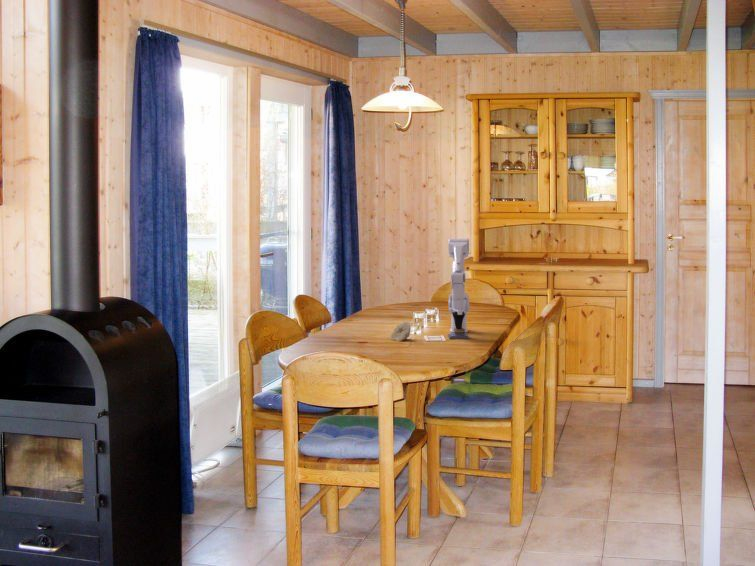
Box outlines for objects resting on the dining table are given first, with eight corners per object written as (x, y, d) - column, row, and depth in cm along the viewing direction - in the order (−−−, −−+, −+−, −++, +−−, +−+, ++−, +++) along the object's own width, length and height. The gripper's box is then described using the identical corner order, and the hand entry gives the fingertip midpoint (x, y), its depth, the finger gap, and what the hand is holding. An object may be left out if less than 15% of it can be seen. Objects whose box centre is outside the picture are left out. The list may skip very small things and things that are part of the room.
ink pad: (447, 335, 432) (447, 333, 432) (467, 335, 433) (467, 332, 432) (449, 339, 423) (449, 336, 423) (469, 338, 424) (469, 336, 423)
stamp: (453, 332, 430) (453, 320, 429) (463, 332, 430) (463, 320, 430) (455, 334, 426) (455, 321, 425) (464, 333, 426) (464, 321, 425)
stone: (389, 343, 420) (386, 324, 425) (395, 348, 426) (391, 329, 431) (411, 336, 418) (407, 316, 422) (416, 341, 423) (412, 322, 428)
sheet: (423, 336, 433) (423, 335, 433) (443, 335, 433) (443, 335, 433) (425, 341, 419) (425, 340, 419) (445, 340, 419) (445, 340, 419)
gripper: (448, 296, 433) (448, 325, 435) (450, 300, 419) (451, 330, 420) (463, 296, 433) (463, 325, 435) (466, 300, 419) (466, 330, 420)
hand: (458, 328), depth 428 cm, fingers closed on stamp, 3 cm apart
